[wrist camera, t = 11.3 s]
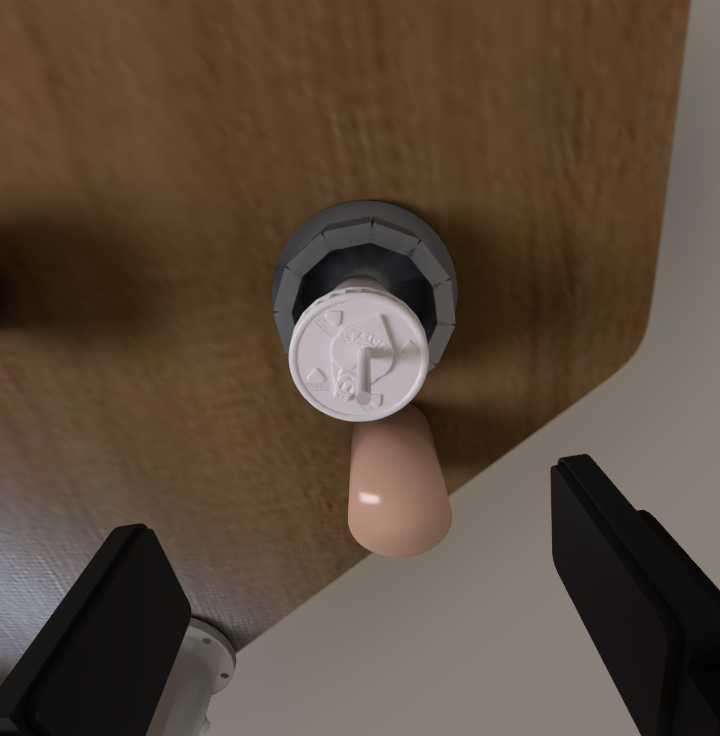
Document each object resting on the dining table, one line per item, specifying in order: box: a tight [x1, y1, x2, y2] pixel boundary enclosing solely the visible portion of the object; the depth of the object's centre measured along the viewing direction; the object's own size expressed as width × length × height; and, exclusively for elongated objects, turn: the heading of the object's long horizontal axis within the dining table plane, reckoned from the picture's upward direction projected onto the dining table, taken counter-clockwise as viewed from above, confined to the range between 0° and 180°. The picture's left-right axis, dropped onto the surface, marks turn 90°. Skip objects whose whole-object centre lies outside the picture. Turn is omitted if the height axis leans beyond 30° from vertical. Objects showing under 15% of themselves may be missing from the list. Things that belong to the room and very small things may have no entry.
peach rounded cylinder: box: [348, 403, 452, 557], centre depth 29 cm, size 6×6×9 cm
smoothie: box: [289, 275, 429, 422], centre depth 21 cm, size 6×6×14 cm
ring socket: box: [272, 200, 458, 373], centre depth 26 cm, size 12×12×5 cm
